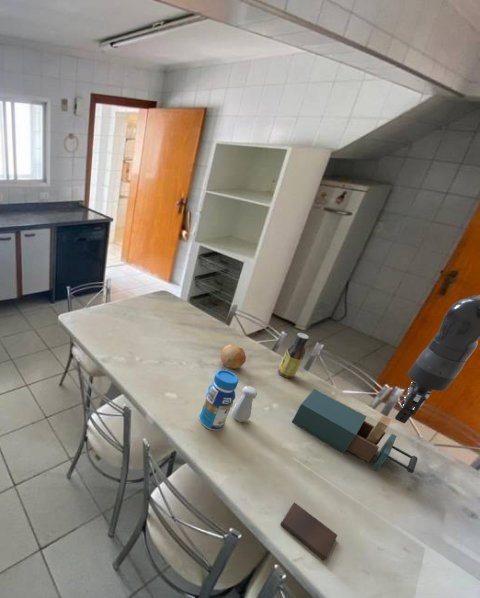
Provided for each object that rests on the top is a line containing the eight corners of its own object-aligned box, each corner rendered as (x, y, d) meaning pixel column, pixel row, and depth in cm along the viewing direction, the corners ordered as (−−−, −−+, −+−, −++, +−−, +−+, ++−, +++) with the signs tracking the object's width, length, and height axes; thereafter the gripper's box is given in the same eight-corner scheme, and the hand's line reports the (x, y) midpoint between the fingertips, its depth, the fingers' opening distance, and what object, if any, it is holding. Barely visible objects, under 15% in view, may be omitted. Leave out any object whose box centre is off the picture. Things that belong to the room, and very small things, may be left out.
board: (335, 538, 81) (337, 534, 80) (324, 561, 76) (327, 557, 76) (292, 505, 88) (294, 502, 87) (279, 524, 83) (282, 521, 82)
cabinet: (354, 434, 111) (366, 416, 107) (343, 453, 104) (356, 435, 100) (304, 406, 122) (314, 388, 118) (291, 422, 114) (301, 403, 110)
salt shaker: (244, 427, 111) (257, 398, 105) (228, 417, 114) (239, 389, 108) (250, 417, 115) (262, 389, 109) (234, 408, 118) (244, 381, 112)
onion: (216, 368, 138) (223, 349, 133) (218, 356, 146) (224, 337, 141) (241, 376, 135) (248, 356, 130) (242, 363, 143) (249, 344, 138)
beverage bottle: (199, 409, 117) (213, 364, 107) (224, 417, 114) (241, 372, 105) (197, 426, 110) (212, 380, 100) (223, 435, 107) (242, 389, 98)
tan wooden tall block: (376, 448, 104) (396, 421, 98) (372, 456, 101) (392, 428, 96) (359, 439, 107) (377, 412, 101) (355, 446, 104) (374, 419, 99)
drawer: (411, 464, 101) (423, 450, 98) (404, 486, 94) (417, 471, 91) (334, 421, 115) (342, 407, 112) (323, 437, 108) (332, 422, 105)
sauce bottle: (280, 367, 142) (297, 328, 133) (295, 375, 138) (314, 335, 129) (274, 373, 138) (292, 334, 129) (290, 381, 134) (309, 341, 125)
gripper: (453, 387, 76) (416, 435, 84) (459, 365, 85) (424, 410, 92) (411, 369, 81) (379, 416, 89) (420, 350, 90) (390, 394, 97)
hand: (402, 413), depth 91 cm, fingers open, 8 cm apart
